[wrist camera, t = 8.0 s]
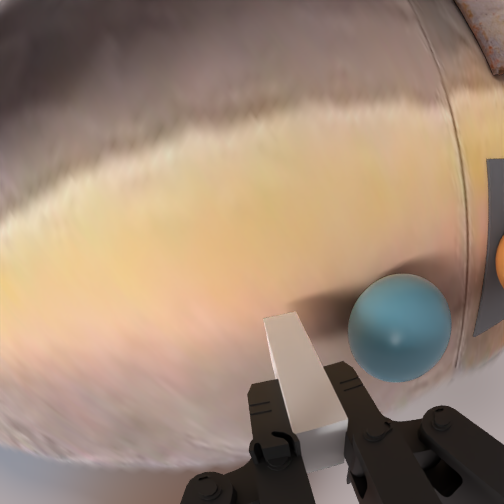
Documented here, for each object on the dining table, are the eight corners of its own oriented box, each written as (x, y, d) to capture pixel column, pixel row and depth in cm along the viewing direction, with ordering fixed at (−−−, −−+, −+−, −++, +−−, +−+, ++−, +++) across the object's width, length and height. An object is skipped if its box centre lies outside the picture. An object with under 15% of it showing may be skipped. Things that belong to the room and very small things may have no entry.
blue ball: (448, 390, 11) (413, 331, 16) (485, 302, 9) (429, 253, 14) (353, 413, 11) (334, 342, 16) (375, 321, 9) (340, 259, 14)
